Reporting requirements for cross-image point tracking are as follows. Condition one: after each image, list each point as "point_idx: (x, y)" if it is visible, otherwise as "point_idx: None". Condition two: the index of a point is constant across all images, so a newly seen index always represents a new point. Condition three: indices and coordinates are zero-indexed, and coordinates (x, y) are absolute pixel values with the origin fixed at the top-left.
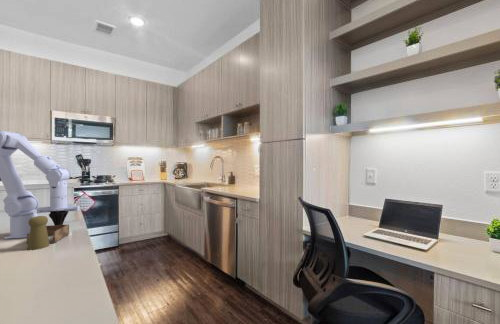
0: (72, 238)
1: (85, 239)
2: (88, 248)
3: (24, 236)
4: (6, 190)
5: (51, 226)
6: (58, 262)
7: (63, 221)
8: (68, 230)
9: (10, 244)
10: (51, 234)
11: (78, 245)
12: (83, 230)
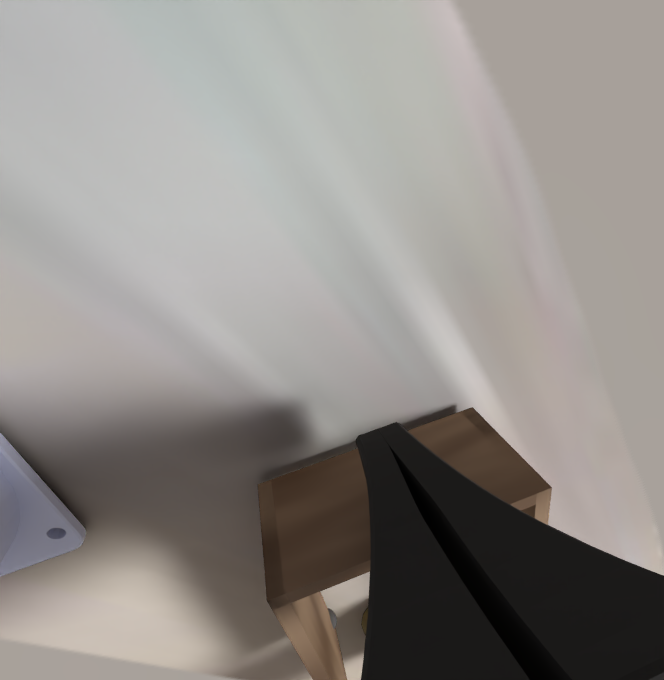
0: (537, 468)
1: (625, 469)
2: (659, 555)
3: (51, 556)
4: None
5: (359, 563)
6: None
7: (463, 481)
8: (498, 442)
9: (155, 641)
10: (331, 476)
11: (610, 543)
12: (545, 238)
